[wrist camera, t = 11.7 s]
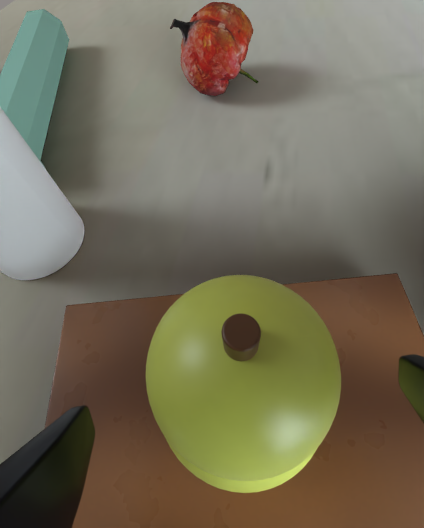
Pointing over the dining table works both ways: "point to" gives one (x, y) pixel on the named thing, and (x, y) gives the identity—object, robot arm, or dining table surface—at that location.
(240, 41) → the red rounded lumpy piece
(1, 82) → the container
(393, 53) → the dining table surface
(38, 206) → the cylindrical container
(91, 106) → the dining table surface
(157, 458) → the board
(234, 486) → the pear
